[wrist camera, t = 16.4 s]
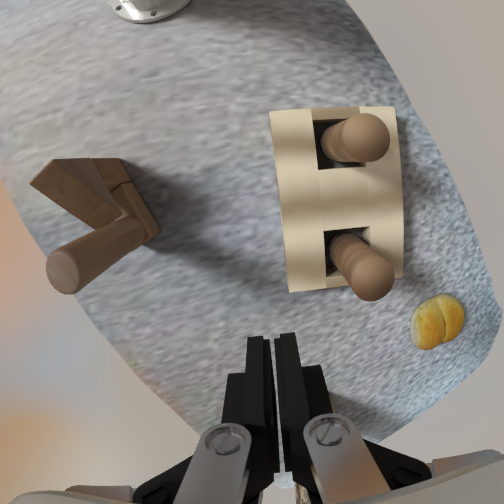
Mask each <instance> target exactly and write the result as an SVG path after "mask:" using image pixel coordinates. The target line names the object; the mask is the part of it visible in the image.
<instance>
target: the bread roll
mask: <svg viewBox="0 0 504 504" xmlns="http://www.w3.org/2000/svg"><path fill="white" fill-rule="evenodd" d="M464 315H465V314H464V309H463V307H462V305H461V303H460V302H459V301H458V300H457V299H456V298H455V297H453V296H451V295H449V294H439V295H436V296H435V297H433V298H430V299H427V300H425V301H424V302H423V303H421V304H420V305H419V306H418V307H417V308H416V310H415V311H414V313H413V315H412V317H411V324H410V333H411V339H412V342H413V344H414V345H416V346H417V347H418V348H420V349H423V350H431V349H433V348H435V347H436V346H438V345H439V344H440V343H441V342H443V343H446V342H450V341H451V340H453V339H454V338H455V337H456V336H457V335H458V334H459V332H460V331H461V329H462V326H463V323H464Z"/></svg>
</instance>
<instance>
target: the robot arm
mask: <svg viewBox="0 0 504 504" xmlns="http://www.w3.org/2000/svg"><path fill="white" fill-rule="evenodd" d="M190 1H191V0H109V3H110V6H111V9H112V10H113V11H114V12H115V14H117V15H118V16H119V17H120V18H122V19H124V20H125V21H129V22H132V23H149V22H153V21H158V20H161V19H163V18H166V17H169V16H170V15H172V14H174V13H176V12H178V11H179V10H181V9H182V8H184V7H185V6H186V5H187V4H188V3H189V2H190ZM274 344H275V358H276V372H277V386H278V401H279V414H280V424H281V434H282V443H283V453H284V463H285V472H291V471H292V475H293V481H294V482H296V483H297V484H299V485H301V486H302V487H304V488H305V494H306V497H307V500H308V503H309V504H504V454H501V453H500V452H498V451H495V450H492V449H491V450H483V451H478V452H473V453H469V454H464V455H458V456H453V457H447V458H440V459H434V460H433V461H432V463H426V464H425V463H424V462H422V461H420V460H418V459H415V458H411V457H409V456H406V455H404V454H401V453H398V452H395V451H392V450H390V449H387V448H385V447H382V446H380V445H377V444H375V443H372V442H370V441H367V440H365V439H362V437H361V435H360V434H359V432H358V430H357V428H356V426H355V424H354V423H353V422H352V421H351V420H350V419H349V418H347V417H346V416H343V415H340V414H334V413H333V409H332V405H331V401H330V398H329V394H328V390H327V386H326V383H325V379H324V375H323V372H322V368H321V365H313V366H306V367H301V362H300V357H299V352H298V346H297V341H296V336H295V332H293V333H285V334H280V338H275V339H274ZM274 473H280V460H279V441H278V423H277V405H276V393H275V384H274V376H273V367H272V358H271V349H270V341H269V339H265V340H264V339H263V336H255V337H248V339H247V354H246V369H245V373H231V374H228V379H227V386H226V393H225V400H224V407H223V414H222V421H221V424H218V425H215V426H213V427H211V428H209V429H208V430H206V431H205V432H204V433H203V435H202V436H201V438H200V440H199V443H198V445H197V447H196V450H195V452H194V455H192V456H190V457H189V458H187V459H186V460H184V461H182V462H180V463H179V464H177V465H175V466H174V467H172V468H170V469H169V470H167V471H165V472H163V473H161V474H160V475H158V476H156V477H154V478H152V479H150V480H149V481H147V482H145V483H143V484H142V485H141V486H139V487H138V488H132V487H131V486H85V485H77V486H71V487H69V488H67V489H66V490H65V491H53V490H48V491H33V492H28V493H24V494H21V495H19V496H17V497H16V498H15V499H14V500H13V501H12V502H11V503H10V504H261V503H262V498H263V490H264V489H265V488H266V487H268V486H269V485H270V484H271V483H272V482H274Z"/></svg>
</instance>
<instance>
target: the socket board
mask: <svg viewBox="0 0 504 504" xmlns="http://www.w3.org/2000/svg"><path fill="white" fill-rule="evenodd" d="M361 113H369V114H373V115H375V116H377V117H378V118H380V119H381V120H382V121H383V122H384V123H385V125H386V126H387V128H388V131H389V134H390V145H389V149H388V151H387V153H386V154H385V155H384V156H383V157H382V158H381V159H379V160H377V161H374V162H358V166H356V167H340V168H326V169H318V164H317V155H316V146H315V138H314V130H313V123H324V122H342V121H344V120H346V119H348V118H351V117H353V116H355V115H357V114H361ZM269 119H270V127H271V135H272V143H273V151H274V159H275V167H276V176H277V185H278V194H279V203H280V212H281V222H282V232H283V241H284V252H285V262H286V273H287V283H288V288H289V292H299V291H307V290H315V289H324V288H331V287H339V286H347V285H349V284H348V282H347V281H346V279H345V278H344V277H343V275H342V274H341V272H340V271H339V270H338V268H337V267H334V268H326V266H325V248H324V233H323V231H328V230H338V229H347V228H357V227H362V240H363V242H364V243H366V244H367V245H368V246H369V247H371V248H372V249H373V250H374V251H375V252H377V253H378V254H379V255H380V256H382V257H383V258H384V259H385V260H386V261H388V262H389V263H390V264H391V266H392V268H393V270H394V276H395V278H394V279H396V278H403V251H404V225H403V192H402V175H401V162H400V150H399V140H398V132H397V123H396V116H395V108H394V107H327V108H308V109H294V110H281V111H271V112H270V114H269Z"/></svg>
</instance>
